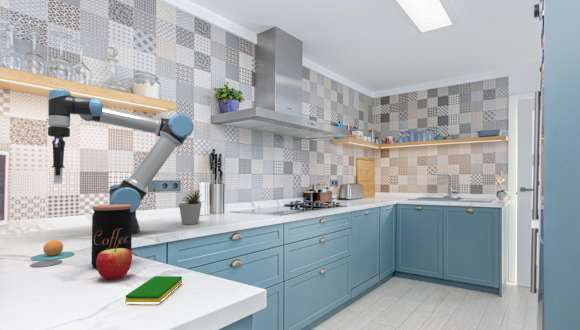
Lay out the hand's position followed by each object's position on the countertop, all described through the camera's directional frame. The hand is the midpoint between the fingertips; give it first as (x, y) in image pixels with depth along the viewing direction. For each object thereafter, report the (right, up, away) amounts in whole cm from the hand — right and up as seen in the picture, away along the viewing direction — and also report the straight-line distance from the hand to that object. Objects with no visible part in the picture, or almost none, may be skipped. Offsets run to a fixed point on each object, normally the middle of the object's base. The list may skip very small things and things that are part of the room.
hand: (57, 183), depth 137 cm
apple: (+50, -22, -50) cm, 74 cm away
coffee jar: (+42, -23, -37) cm, 61 cm away
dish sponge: (+66, -22, -62) cm, 93 cm away
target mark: (+16, -23, -25) cm, 38 cm away
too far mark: (+21, -23, -35) cm, 47 cm away
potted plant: (+39, -27, +53) cm, 71 cm away
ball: (+16, -21, -24) cm, 36 cm away
